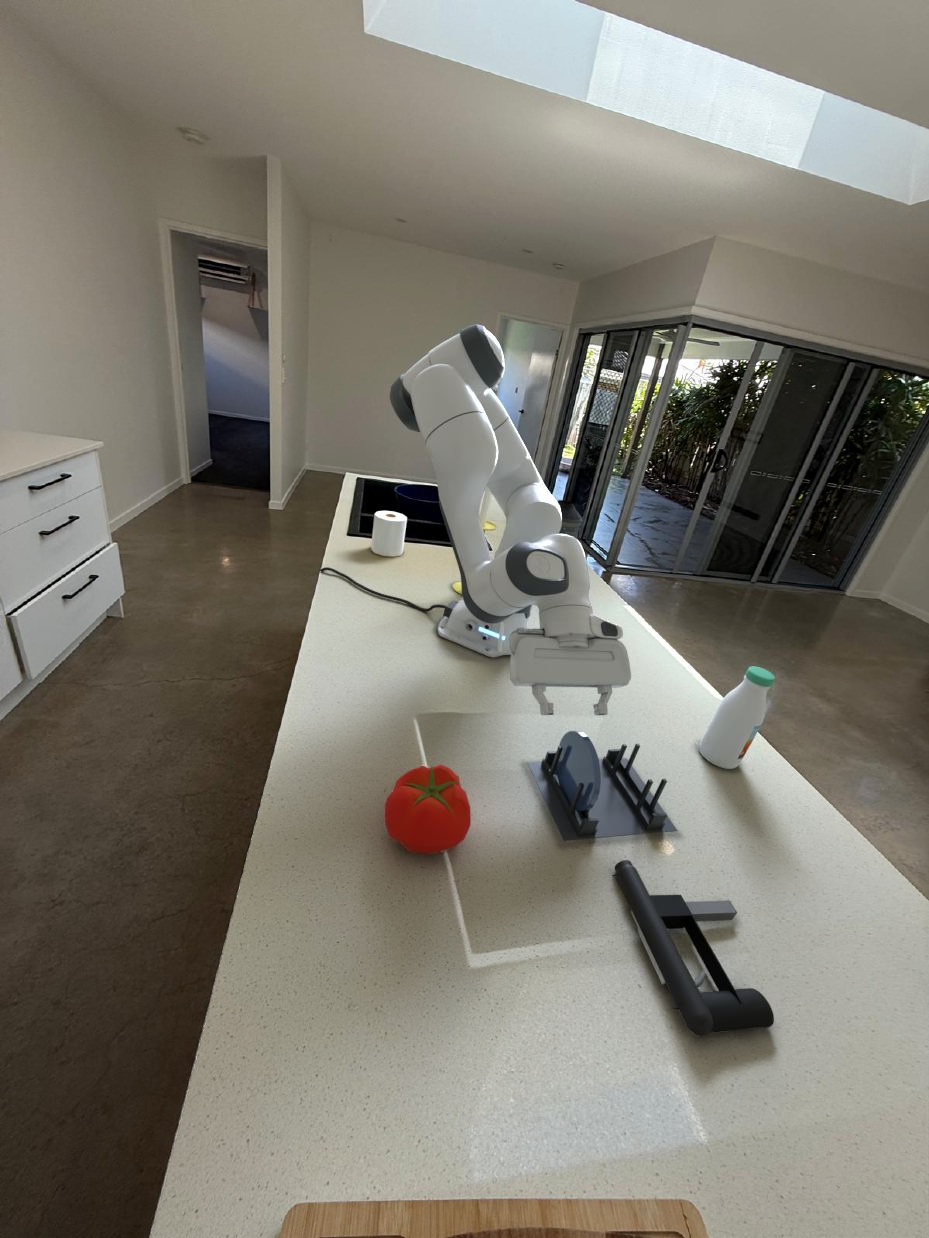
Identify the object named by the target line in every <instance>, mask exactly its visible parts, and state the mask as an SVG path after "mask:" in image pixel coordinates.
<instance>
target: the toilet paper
mask: <svg viewBox="0 0 929 1238" xmlns="http://www.w3.org/2000/svg"><path fill="white" fill-rule="evenodd" d="M407 523H408V517H407V516H406V515H405V514H403V513H400V512H396V511H393V510H391V511H390V510H378V511H376V512H375V513H374V516H373V523H372V524H373V527H372V535H371V544H370V545H371V546H370V551H372V552H373V553H374V554H375V555H376V554H377V555H379V556H383V557H391V558H392V557H393V558H395V557H399V556H402V555H403V552H404V545H405V544H404V543H405V537H406V528H407Z"/></svg>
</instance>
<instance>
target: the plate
mask: <svg viewBox="0 0 929 1238" xmlns="http://www.w3.org/2000/svg"><path fill="white" fill-rule="evenodd" d="M558 746H562V747H563V750H562V753H561V756H560V758H559V761H558V764H557V776H558V781H559V785H560V788H561V790H562V792H563V793H564V795H565V797H566V799H567V801H568V803H569V805H570V807H571V804H572V801H573V799H574V796H575V794H576V791H577V788H578V786H579V783H583V784H584V788H583V791H582V793H581V796H580V798H579V801H578V804H577V806H576V809H575V810H576V811H587V810H590V809H591V808H592V807H593V806H594V805H595V803H596V801H597V799H598V796H599V792H600V785H601V772H600V764H599V756H598V753H597V749H596V747H595V746H594V744H593V741H592V740H591V738H590V737H589V736H588V735H587V734H586V733H584V732H583V731H582V730H581V731H580V730H569V731H567V732H565V733H564V735H563V736H562V738H561V739H560V741H559V744H558Z"/></svg>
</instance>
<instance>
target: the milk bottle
mask: <svg viewBox="0 0 929 1238" xmlns="http://www.w3.org/2000/svg"><path fill="white" fill-rule="evenodd" d="M775 682H776V677H775V675H774V674H773V673H772V672H770V671H769V670H767V669H765V668H763V667H759V666H754V665H753V666H749V667H748V668H747V669H746V671H745V675H743V681H742V682H740V684H739V685H737V686H736V687H735V688H734V689H732V690H730V691H729V692H728V693H727V694H726V695H725V696H724V697H723V699H722V700H721V701H720V703H719V704H718V707H717V709H716V710H715V713H714V714H713V716H712V717H711V719H710V722H709V724H708V725H707V728H706V730H705V732H704V734H703V735H702V738H701V740H700V742H699V745H698V750H699V753H700V754H701V755H702V757H703V758H704V759H706V760H707V761H708V762H709V763H711V764H713V765H714V766H716V767H719V768H722V769H726V770H732V769H736V768H737V767H739V765H740V764H741V762H742V761H743V759H744V757H745V755H746V754H747V752H748V750H749V748H750V747H751V744H752V743H753V741H754V739H755V738H756V737H757V734H758V732H759V731H760V729H761V727H762V724H763V722H764V720H765V717H766V711H767V694H768V691H769V690H770V689H771V688H772V686H773V684H774V683H775Z"/></svg>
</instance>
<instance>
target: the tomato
mask: <svg viewBox="0 0 929 1238" xmlns="http://www.w3.org/2000/svg"><path fill="white" fill-rule="evenodd" d="M469 801H470V800H469V798H468V795H467V792H466V791H465V789H463V788H462V785H461V782H460V777H459V776H458V775H457V773H455V771H454V770H453V769H451V768H450V767H448V766H445V765H443V764H438V765H436V766H431V767H427V766H426V765H421V766H418V767H415V768H412V769H409V770H408V771H406V772H405V773H403V774H402V775H401V776H400V777H399V778H398V779H397V780H396V781H395V783H394V787H393V789H392V791H391V793H390V794H389V795H387V797H386V800H385V803H384V825H385V827H386V830H387V834H388V837H389V838H390V839H391V840H394V841H395V842H397V843H399V844H400V845H402V846H403V847H404V849H406V850H408V851H409V852H410V853H415V854H423V855H429V854H438V853H439V854H440V853H442V852H445V851H447V850H450V849H453V848H455V847H457V846H459V844H460V843H462V842H463V841H464V840H465V838H466V836H467V834H468V831H469V830H470V827H471V824H472V823H471V821H472V820H471V819H472V815H471V805H470V802H469Z"/></svg>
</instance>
